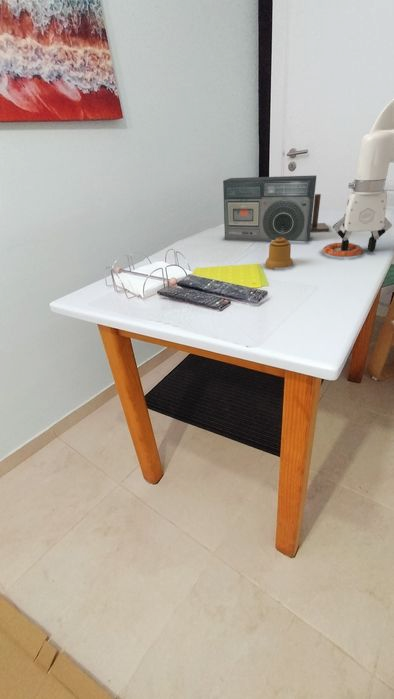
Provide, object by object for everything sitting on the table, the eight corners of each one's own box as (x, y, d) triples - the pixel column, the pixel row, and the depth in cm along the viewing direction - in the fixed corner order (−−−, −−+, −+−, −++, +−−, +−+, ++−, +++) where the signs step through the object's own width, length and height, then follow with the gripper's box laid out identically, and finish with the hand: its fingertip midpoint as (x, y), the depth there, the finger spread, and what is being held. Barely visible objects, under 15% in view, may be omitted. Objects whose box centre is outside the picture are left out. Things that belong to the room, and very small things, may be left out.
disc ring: (356, 249, 105) (357, 241, 103) (365, 259, 96) (367, 251, 94) (320, 249, 107) (321, 242, 105) (325, 260, 98) (327, 252, 96)
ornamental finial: (284, 273, 92) (260, 268, 96) (296, 265, 96) (273, 261, 101) (286, 243, 87) (261, 240, 92) (299, 236, 92) (275, 234, 96)
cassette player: (224, 240, 124) (223, 180, 113) (231, 236, 129) (230, 178, 118) (306, 244, 112) (312, 178, 102) (309, 239, 117) (316, 175, 107)
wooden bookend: (324, 226, 130) (328, 191, 124) (328, 232, 123) (333, 195, 116) (300, 227, 132) (303, 193, 125) (302, 233, 125) (306, 197, 118)
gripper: (337, 190, 89) (328, 257, 99) (409, 186, 86) (392, 255, 96) (332, 186, 95) (324, 249, 105) (399, 182, 92) (384, 248, 102)
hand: (357, 252), depth 100 cm, fingers open, 6 cm apart
